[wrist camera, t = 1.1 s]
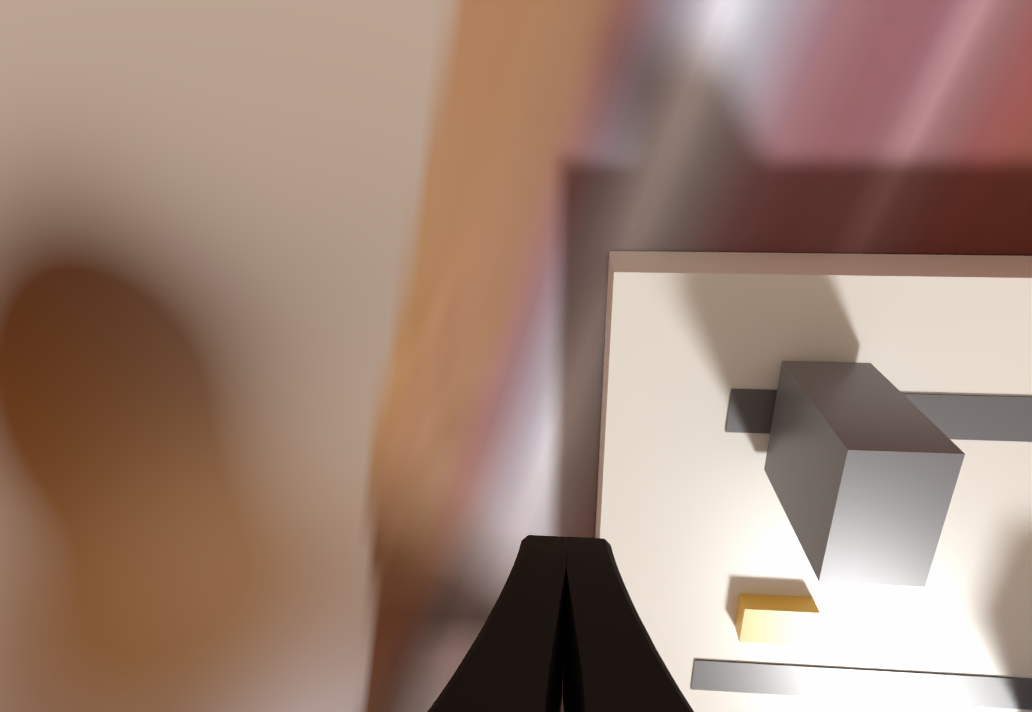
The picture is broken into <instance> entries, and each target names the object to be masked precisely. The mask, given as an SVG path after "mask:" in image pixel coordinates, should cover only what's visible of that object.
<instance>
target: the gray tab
mask: <svg viewBox="0 0 1032 712" xmlns="http://www.w3.org/2000/svg"><path fill="white" fill-rule="evenodd" d="M964 456H965V453H964V452H963V451H962V450H961V449H960V448H959V447H957V446H956V445H955V444H954V443H953V442H952V441H951V440H950V439H949V438H948V437H947V436H946V435H945V434H944V433H943V432H942V431H941V430H940V429H939V428H938V427H937V426H936V425H935V424H934V423H933V422H931V421H930V420H929V419H928V418H927V417H926V416H925V415H924V414H923V413H922V412H921V411H920V410H919V409H918V408H917V407H916V406H915V405H914V404H913V403H912V402H911V401H910V400H909V399H908V398H907V397H906V396H904V395H903V394H902V393H901V392H900V391H899V390H898V389H897V388H896V387H895V386H894V385H893V384H892V383H891V382H890V381H889V380H888V379H887V378H886V377H885V376H884V375H883V374H882V373H881V372H880V371H878V370H877V369H876V368H875V367H874V366H873V365H872V364H871V363H857V362H815V361H782V364H781V370H780V377H779V383H778V389H777V395H776V401H775V407H774V413H773V419H772V425H771V431H770V437H769V443H768V449H767V455H766V461H765V467H764V470H765V473H766V475H767V477H768V479H769V481H770V483H771V485H772V487H773V489H774V491H775V493H776V495H777V497H778V499H779V501H780V503H781V505H782V507H783V509H784V511H785V513H786V516H787V518H788V520H789V522H790V524H791V526H792V528H793V530H794V532H795V534H796V536H797V538H798V540H799V542H800V544H801V546H802V548H803V550H804V552H805V554H806V557H807V559H808V561H809V563H810V565H811V567H812V569H813V571H814V573H815V575H816V577H817V579H818V581H819V582H837V583H858V584H879V585H900V586H921V587H925V584H926V581H927V578H928V574H929V571H930V568H931V565H932V561H933V558H934V555H935V551H936V548H937V545H938V542H939V538H940V535H941V532H942V528H943V525H944V522H945V519H946V515H947V512H948V509H949V505H950V502H951V499H952V496H953V492H954V489H955V486H956V482H957V479H958V476H959V473H960V469H961V466H962V463H963V459H964Z"/></svg>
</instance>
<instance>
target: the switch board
mask: <svg viewBox="0 0 1032 712" xmlns="http://www.w3.org/2000/svg"><path fill="white" fill-rule="evenodd" d="M782 361H815V362H857V363H871V364H872V365H873V366H874V367H875V368H876V369H877V370H878V371H880V372H881V373H882V374H883V375H884V376H885V377H886V378H887V379H888V380H889V381H890V382H891V383H892V384H893V385H894V386H895V387H896V388H897V389H898V390H899V391H900V392H901V393H902V394H903V395H904V396H906V397H907V398H908V399H909V400H910V401H911V402H912V403H913V404H914V405H915V406H916V407H917V408H918V409H919V410H920V411H921V412H922V413H923V414H924V415H925V416H926V417H927V418H928V419H929V420H930V421H931V422H933V423H934V424H935V425H936V426H937V427H938V428H939V429H940V430H941V431H942V432H943V433H944V434H945V435H946V436H947V437H948V438H949V439H950V440H951V441H952V442H953V443H954V444H955V445H956V446H957V447H959V448H960V449H961V450H962V451H963V452H964V453H965V456H964V459H963V463H962V466H961V469H960V473H959V476H958V479H957V482H956V486H955V489H954V492H953V496H952V499H951V502H950V505H949V509H948V512H947V515H946V519H945V522H944V525H943V528H942V532H941V535H940V538H939V542H938V545H937V548H936V551H935V555H934V558H933V561H932V565H931V568H930V571H929V574H928V578H927V581H926V584H925V587H921V586H900V585H879V584H858V583H837V582H819V581H818V579H817V577H816V575H815V573H814V571H813V569H812V567H811V565H810V563H809V561H808V559H807V557H806V554H805V552H804V550H803V548H802V546H801V544H800V542H799V540H798V538H797V536H796V534H795V532H794V530H793V528H792V526H791V524H790V522H789V520H788V518H787V516H786V513H785V511H784V509H783V507H782V505H781V503H780V501H779V499H778V497H777V495H776V493H775V491H774V489H773V487H772V485H771V483H770V481H769V479H768V477H767V475H766V473H765V470H764V467H765V461H766V455H767V449H768V443H769V437H770V431H771V425H772V419H773V413H774V407H775V401H776V395H777V389H778V383H779V377H780V370H781V364H782ZM595 538H603V539H605V540H606V541H607V542H608V543H609V544H610V545H611V548H612V552H613V555H614V558H615V561H616V564H617V567H618V569H619V572H620V575H621V577H622V579H623V582H624V584H625V587H626V589H627V591H628V593H629V596H630V598H631V600H632V602H633V604H634V606H635V609H636V611H637V613H638V615H639V617H640V619H641V621H642V623H643V624H644V626H645V628H646V630H647V632H648V634H649V636H650V638H651V640H652V642H653V644H654V646H655V647H656V649H657V651H658V653H659V655H660V656H661V658H662V660H663V662H664V663H665V665H666V667H667V669H668V670H669V672H670V674H671V675H672V677H673V679H674V680H675V682H676V684H677V685H678V687H679V689H680V690H681V692H682V693H683V695H684V697H685V698H686V700H687V701H688V703H689V705H690V706H691V708H692V709H693V711H694V712H1032V256H1002V255H917V254H831V253H746V252H661V251H609V267H608V288H607V308H606V328H605V348H604V369H603V389H602V409H601V429H600V450H599V470H598V490H597V510H596V531H595Z"/></svg>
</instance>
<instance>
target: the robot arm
mask: <svg viewBox="0 0 1032 712" xmlns="http://www.w3.org/2000/svg"><path fill="white" fill-rule="evenodd" d="M563 648H564V649H563ZM562 683H563V705H564V712H694V711H693V709H692V708H691V706H690V705H689V703H688V701H687V700H686V698H685V697H684V695H683V693H682V692H681V690H680V689H679V687H678V685H677V684H676V682H675V680H674V679H673V677H672V675H671V674H670V672H669V670H668V669H667V667H666V665H665V663H664V662H663V660H662V658H661V656H660V655H659V653H658V651H657V649H656V647H655V646H654V644H653V642H652V640H651V638H650V636H649V634H648V632H647V630H646V628H645V626H644V624H643V623H642V621H641V619H640V617H639V615H638V613H637V611H636V609H635V606H634V604H633V602H632V600H631V598H630V596H629V593H628V591H627V589H626V587H625V584H624V582H623V579H622V577H621V575H620V572H619V569H618V567H617V564H616V561H615V558H614V555H613V552H612V548H611V545H610V544H609V543H608V542H607V541H606V540H605V539H603V538H581V537H558V536H535V535H528V536H527V537H526V538H524V539H523V540H522V541H521V545H520V549H519V552H518V555H517V558H516V560H515V563H514V566H513V568H512V570H511V573H510V575H509V577H508V579H507V581H506V584H505V586H504V588H503V590H502V592H501V594H500V596H499V598H498V600H497V602H496V604H495V606H494V607H493V609H492V611H491V613H490V615H489V617H488V619H487V620H486V622H485V624H484V626H483V628H482V630H481V631H480V633H479V635H478V637H477V638H476V640H475V641H474V643H473V645H472V646H471V648H470V649H469V651H468V653H467V654H466V656H465V657H464V659H463V661H462V662H461V664H460V665H459V667H458V669H457V670H456V672H455V673H454V675H453V676H452V678H451V679H450V681H449V682H448V684H447V685H446V687H445V688H444V690H443V691H442V692H441V694H440V695H439V697H438V698H437V700H436V701H435V702H434V704H433V705H432V707H431V708H430V709H429V711H428V712H560V711H561V701H562Z"/></svg>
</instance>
